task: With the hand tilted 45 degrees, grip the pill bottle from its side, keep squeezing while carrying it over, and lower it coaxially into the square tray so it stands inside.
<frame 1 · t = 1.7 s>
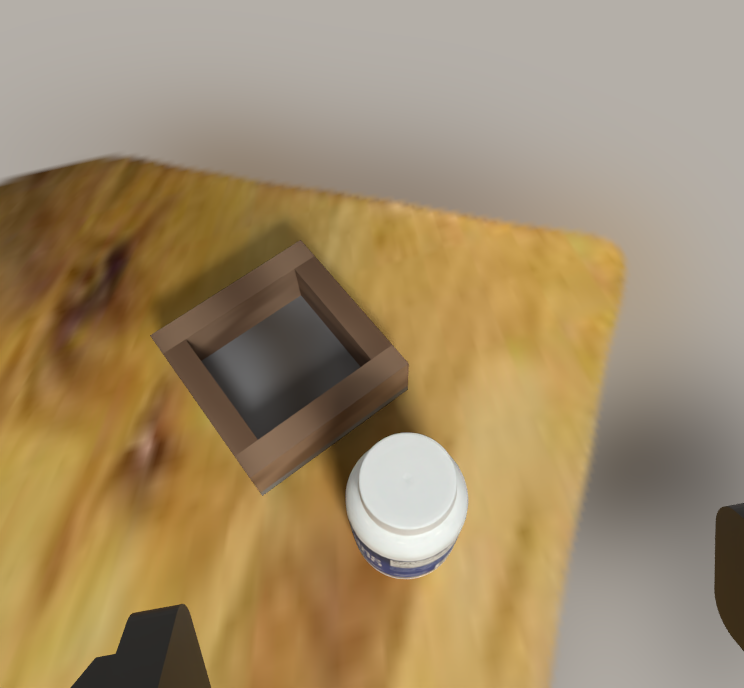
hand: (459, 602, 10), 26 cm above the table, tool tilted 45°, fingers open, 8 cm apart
square tray: (286, 375, 40), on the table
pill bottle: (404, 528, 37), on the table
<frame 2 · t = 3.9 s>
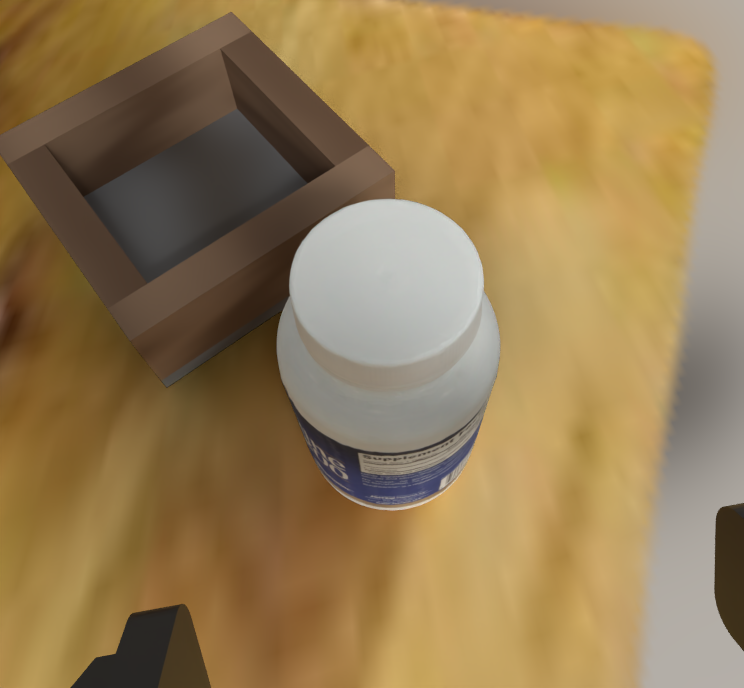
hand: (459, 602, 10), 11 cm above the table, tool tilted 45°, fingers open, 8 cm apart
square tray: (212, 218, 27), on the table
pill bottle: (390, 434, 23), on the table
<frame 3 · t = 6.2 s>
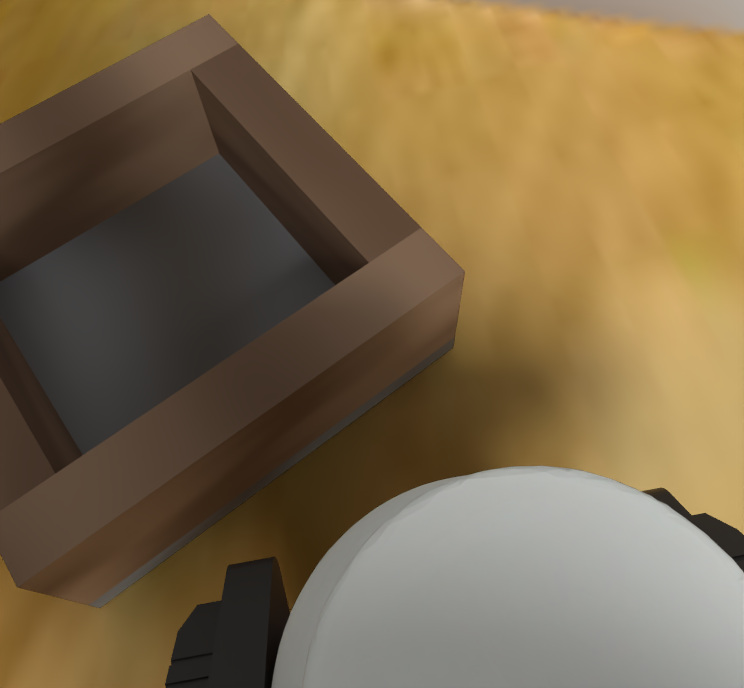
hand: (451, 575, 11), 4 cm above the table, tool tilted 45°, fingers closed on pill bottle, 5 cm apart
square tray: (180, 320, 18), on the table
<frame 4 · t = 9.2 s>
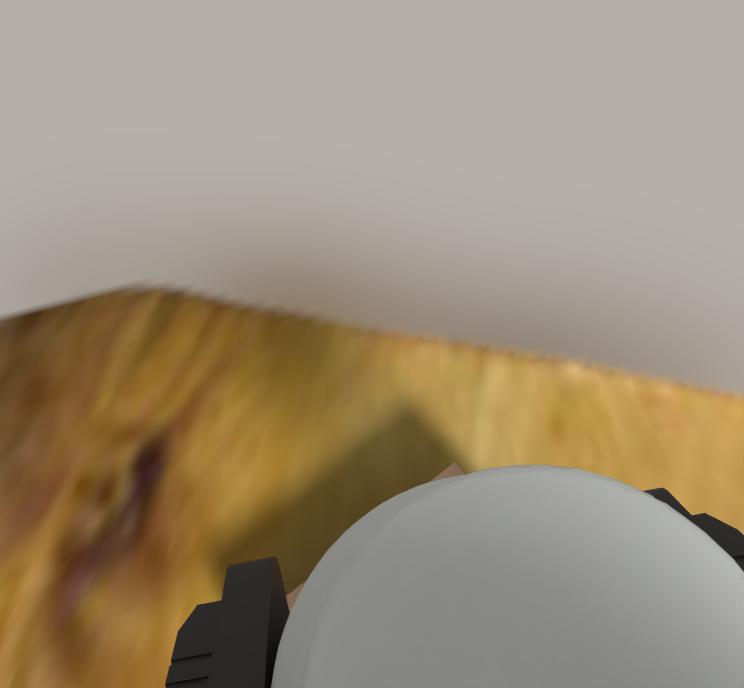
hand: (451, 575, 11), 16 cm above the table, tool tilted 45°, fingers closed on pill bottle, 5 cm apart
square tray: (433, 682, 25), on the table
when the fingers open (6 cm above the table, at t = 12.0 s): pill bottle drops 1 cm, resting on square tray.
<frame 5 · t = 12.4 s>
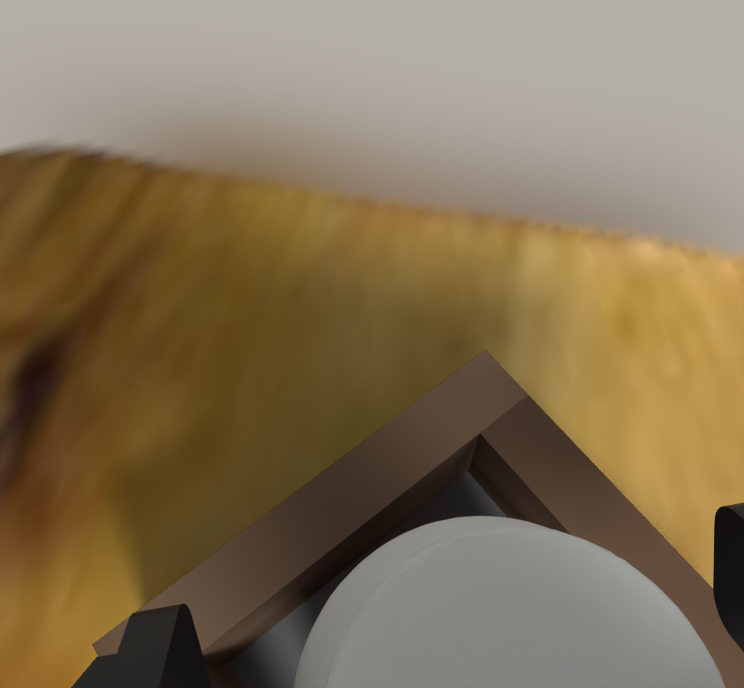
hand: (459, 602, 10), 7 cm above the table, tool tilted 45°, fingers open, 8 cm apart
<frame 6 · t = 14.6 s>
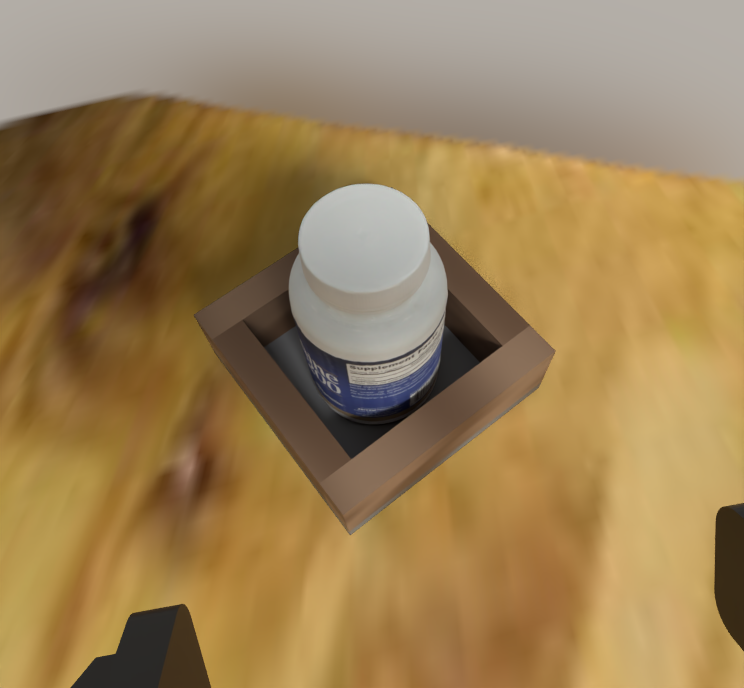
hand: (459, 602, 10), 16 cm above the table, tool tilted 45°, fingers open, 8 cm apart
square tray: (373, 370, 30), on the table
pill bottle: (375, 370, 30), resting on square tray
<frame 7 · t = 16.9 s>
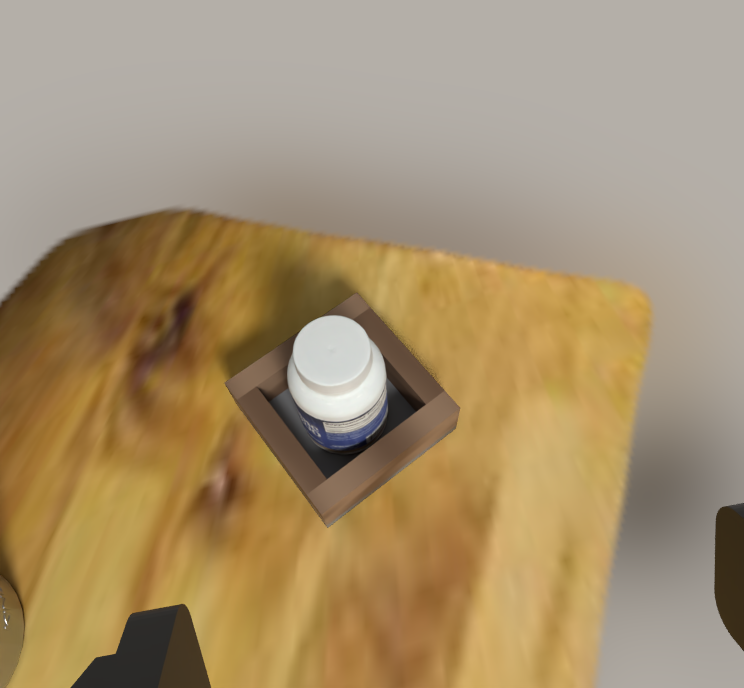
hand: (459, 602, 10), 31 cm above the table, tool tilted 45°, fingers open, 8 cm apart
square tray: (344, 416, 44), on the table
pill bottle: (345, 416, 44), resting on square tray
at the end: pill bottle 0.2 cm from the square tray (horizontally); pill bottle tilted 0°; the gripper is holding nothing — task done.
